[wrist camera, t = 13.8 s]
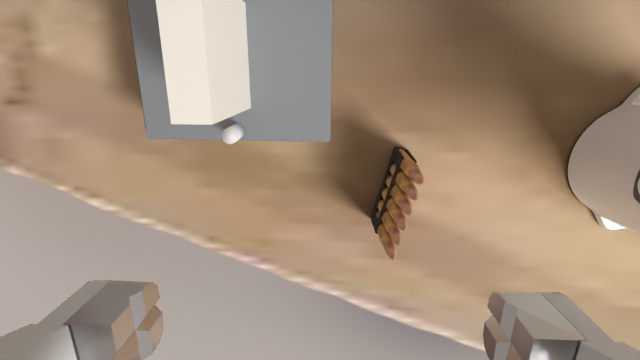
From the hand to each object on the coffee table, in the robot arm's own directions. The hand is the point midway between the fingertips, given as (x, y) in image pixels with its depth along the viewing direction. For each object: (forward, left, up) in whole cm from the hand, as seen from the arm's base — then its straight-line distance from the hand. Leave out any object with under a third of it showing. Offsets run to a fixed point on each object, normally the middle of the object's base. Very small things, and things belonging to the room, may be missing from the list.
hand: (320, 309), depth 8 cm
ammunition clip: (-8, +9, -37) cm, 39 cm away
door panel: (+10, -7, -29) cm, 32 cm away
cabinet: (+10, -7, -37) cm, 39 cm away
